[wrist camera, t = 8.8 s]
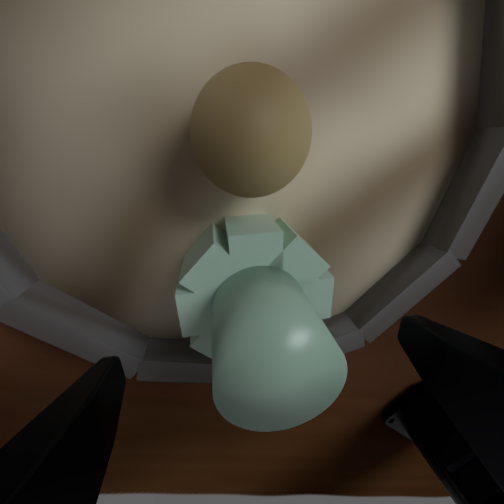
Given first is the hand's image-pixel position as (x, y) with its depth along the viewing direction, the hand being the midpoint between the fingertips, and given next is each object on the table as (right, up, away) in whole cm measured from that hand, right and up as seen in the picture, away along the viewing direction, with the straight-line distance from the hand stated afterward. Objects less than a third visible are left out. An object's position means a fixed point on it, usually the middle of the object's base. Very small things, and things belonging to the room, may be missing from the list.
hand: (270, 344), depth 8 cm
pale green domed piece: (-1, +2, +4) cm, 4 cm away
